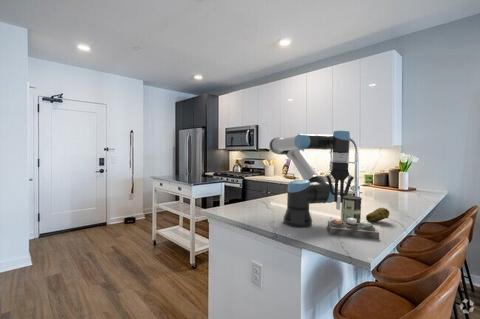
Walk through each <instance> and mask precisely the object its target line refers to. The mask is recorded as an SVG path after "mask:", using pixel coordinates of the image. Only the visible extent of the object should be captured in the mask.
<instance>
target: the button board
mask: <svg viewBox="0 0 480 319" xmlns="http://www.w3.org/2000/svg"><path fill="white" fill-rule="evenodd" d="M333 220H334V219H333ZM333 220H327V228H328V231H329V234H330V235H333V236H334V235H335V236H336V235H337V236H343V237H344V236H345V237H356V238H362V239H363V238H366V239H374V240H380V232H379V231H378V229H377V228H376V227H375V226H374V225H373V224H372V223H371V227H364V226H361V224H362V222H360V223H357V224H349V223H347V222H343V221H342V224H333Z"/></svg>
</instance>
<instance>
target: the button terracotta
mask: <svg viewBox="0 0 480 319" xmlns="http://www.w3.org/2000/svg"><path fill="white" fill-rule="evenodd" d="M333 224H342V220H341V219H337V218H334V219H333Z"/></svg>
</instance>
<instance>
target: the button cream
mask: <svg viewBox="0 0 480 319" xmlns="http://www.w3.org/2000/svg"><path fill="white" fill-rule="evenodd" d="M347 223H349V224H357V219H355V218H347Z"/></svg>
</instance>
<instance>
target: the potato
mask: <svg viewBox="0 0 480 319" xmlns="http://www.w3.org/2000/svg"><path fill="white" fill-rule="evenodd" d="M389 216H390V211H389V210H388V208H386V207H378V208H377V209H375V210H373V211H371V212H369V213H368V214H366V216H365V220H366V222H369V223H373V222H375V223H376V222H380V221H382V220H385V219H389Z"/></svg>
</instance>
